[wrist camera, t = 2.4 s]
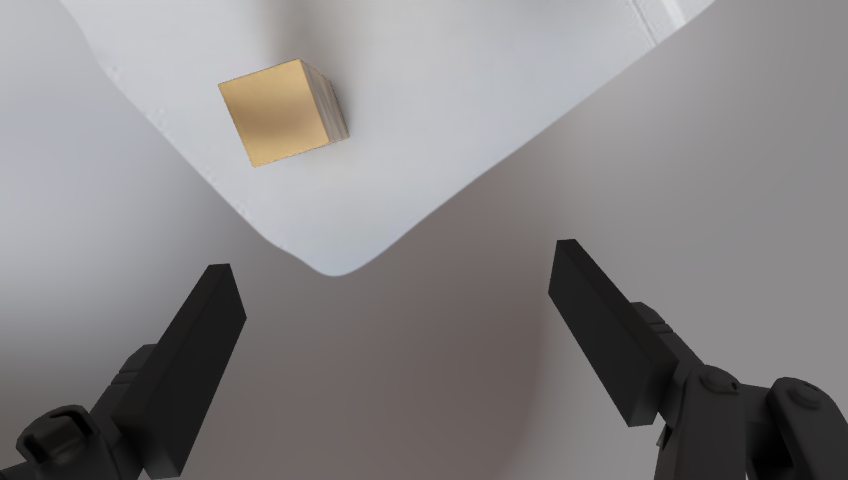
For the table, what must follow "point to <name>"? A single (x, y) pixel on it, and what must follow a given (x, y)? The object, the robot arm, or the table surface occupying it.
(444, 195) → the table surface
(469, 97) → the table surface
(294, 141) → the block
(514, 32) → the table surface
